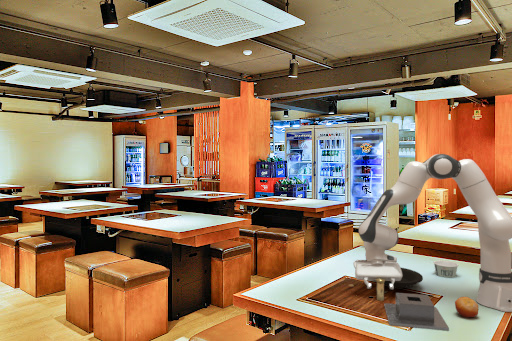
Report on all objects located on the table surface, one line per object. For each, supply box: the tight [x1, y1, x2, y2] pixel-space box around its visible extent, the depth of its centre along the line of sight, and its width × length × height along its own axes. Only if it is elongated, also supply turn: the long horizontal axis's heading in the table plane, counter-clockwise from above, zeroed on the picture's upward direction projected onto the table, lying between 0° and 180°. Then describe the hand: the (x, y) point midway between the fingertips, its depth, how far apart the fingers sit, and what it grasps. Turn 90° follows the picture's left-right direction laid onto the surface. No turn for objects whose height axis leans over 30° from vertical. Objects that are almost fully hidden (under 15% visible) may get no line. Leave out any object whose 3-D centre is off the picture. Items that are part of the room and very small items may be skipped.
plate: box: [384, 267, 424, 290], centre depth 184 cm, size 28×24×6 cm
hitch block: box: [383, 292, 450, 332], centre depth 145 cm, size 20×20×7 cm
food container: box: [432, 260, 459, 279], centre depth 201 cm, size 12×12×6 cm
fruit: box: [454, 296, 479, 318], centre depth 147 cm, size 8×8×8 cm
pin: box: [375, 278, 385, 302], centre depth 165 cm, size 4×4×9 cm
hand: (380, 288), depth 164 cm, fingers open, 8 cm apart
